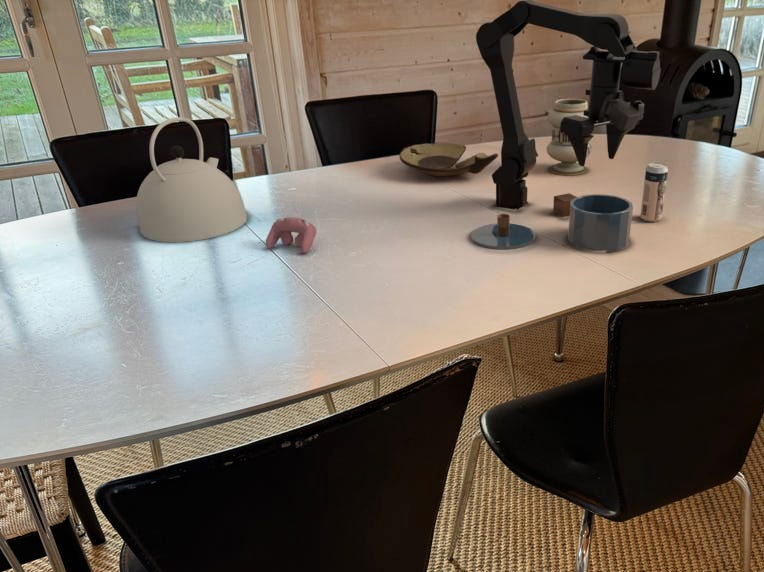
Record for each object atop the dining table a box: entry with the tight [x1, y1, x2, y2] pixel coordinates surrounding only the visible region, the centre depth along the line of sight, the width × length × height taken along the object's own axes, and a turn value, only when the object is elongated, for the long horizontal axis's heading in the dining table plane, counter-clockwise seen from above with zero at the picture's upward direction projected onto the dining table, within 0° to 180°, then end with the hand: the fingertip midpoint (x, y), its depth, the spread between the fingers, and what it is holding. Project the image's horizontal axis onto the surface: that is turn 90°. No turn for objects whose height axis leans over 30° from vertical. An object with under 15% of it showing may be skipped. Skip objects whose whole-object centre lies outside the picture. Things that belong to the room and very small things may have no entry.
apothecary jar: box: [546, 98, 593, 176], centre depth 178 cm, size 12×12×18 cm
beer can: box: [639, 162, 669, 223], centre depth 146 cm, size 5×5×12 cm
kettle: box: [135, 116, 248, 243], centre depth 145 cm, size 25×23×22 cm
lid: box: [470, 213, 536, 250], centre depth 138 cm, size 13×13×5 cm
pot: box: [567, 193, 634, 254], centre depth 136 cm, size 12×12×8 cm
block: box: [552, 193, 577, 218], centre depth 151 cm, size 4×4×4 cm
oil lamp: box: [398, 142, 499, 177], centre depth 179 cm, size 22×30×8 cm
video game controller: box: [265, 216, 317, 254], centre depth 136 cm, size 10×5×7 cm, turn 71°
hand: (596, 162), depth 143 cm, fingers open, 9 cm apart
